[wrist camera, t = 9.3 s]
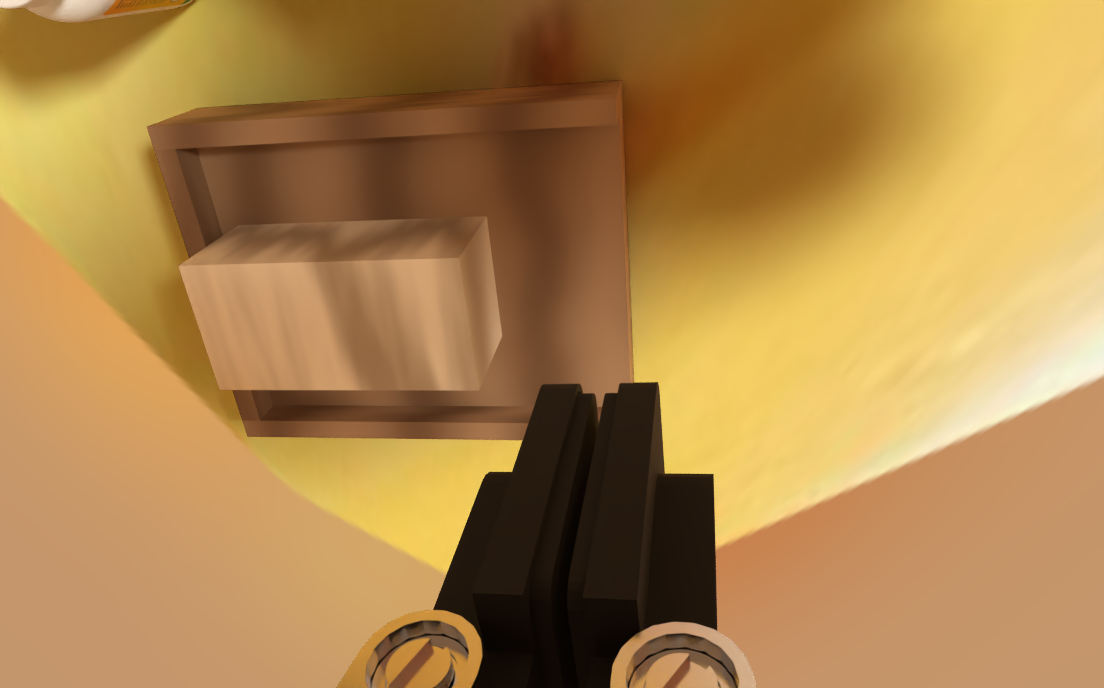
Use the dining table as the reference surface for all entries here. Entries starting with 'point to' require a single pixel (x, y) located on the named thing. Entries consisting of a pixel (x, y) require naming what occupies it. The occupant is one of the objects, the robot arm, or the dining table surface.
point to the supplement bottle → (90, 8)
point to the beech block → (348, 305)
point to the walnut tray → (435, 192)
